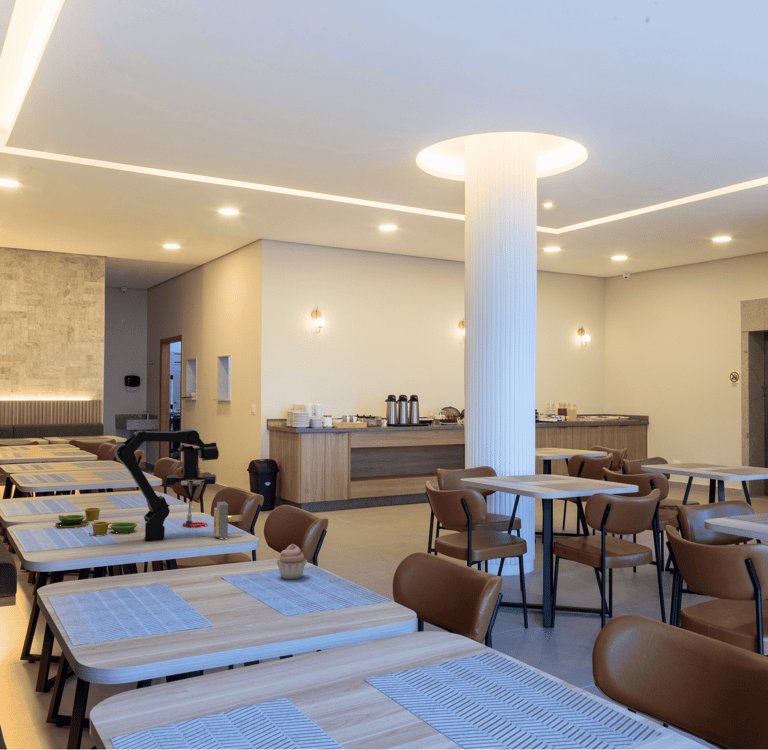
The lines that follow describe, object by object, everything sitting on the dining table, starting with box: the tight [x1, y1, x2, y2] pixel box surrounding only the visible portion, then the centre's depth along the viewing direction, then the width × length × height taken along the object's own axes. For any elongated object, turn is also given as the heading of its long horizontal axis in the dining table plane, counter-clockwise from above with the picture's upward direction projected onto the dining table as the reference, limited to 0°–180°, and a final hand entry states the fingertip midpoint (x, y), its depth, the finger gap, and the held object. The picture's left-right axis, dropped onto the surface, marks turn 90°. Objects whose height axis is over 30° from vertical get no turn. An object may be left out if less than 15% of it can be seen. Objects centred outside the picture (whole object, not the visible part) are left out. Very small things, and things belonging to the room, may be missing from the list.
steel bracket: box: [216, 501, 229, 539], centre depth 272 cm, size 3×8×13 cm, turn 21°
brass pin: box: [213, 507, 243, 538], centre depth 273 cm, size 10×6×10 cm, turn 111°
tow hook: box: [182, 499, 208, 529], centre depth 296 cm, size 8×13×9 cm
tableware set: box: [52, 507, 138, 536], centre depth 290 cm, size 41×28×6 cm
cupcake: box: [276, 543, 308, 580], centre depth 214 cm, size 9×9×10 cm
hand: (191, 501), depth 276 cm, fingers closed
